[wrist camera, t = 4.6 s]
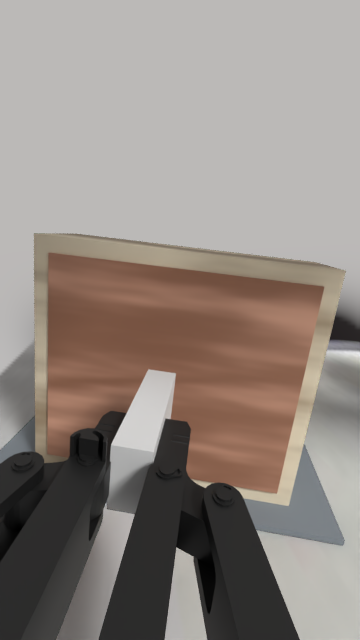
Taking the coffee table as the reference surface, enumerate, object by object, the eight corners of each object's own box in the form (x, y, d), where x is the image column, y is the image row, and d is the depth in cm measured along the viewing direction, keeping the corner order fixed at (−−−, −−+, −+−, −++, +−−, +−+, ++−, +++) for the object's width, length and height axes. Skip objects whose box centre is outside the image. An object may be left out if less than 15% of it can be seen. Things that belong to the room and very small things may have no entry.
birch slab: (289, 508, 22) (347, 271, 18) (33, 463, 23) (32, 233, 19) (273, 450, 28) (314, 262, 24) (71, 417, 29) (75, 233, 25)
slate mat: (343, 545, 20) (344, 540, 20) (-24, 479, 22) (-24, 473, 22) (270, 367, 47) (271, 365, 47) (108, 344, 49) (109, 342, 49)
